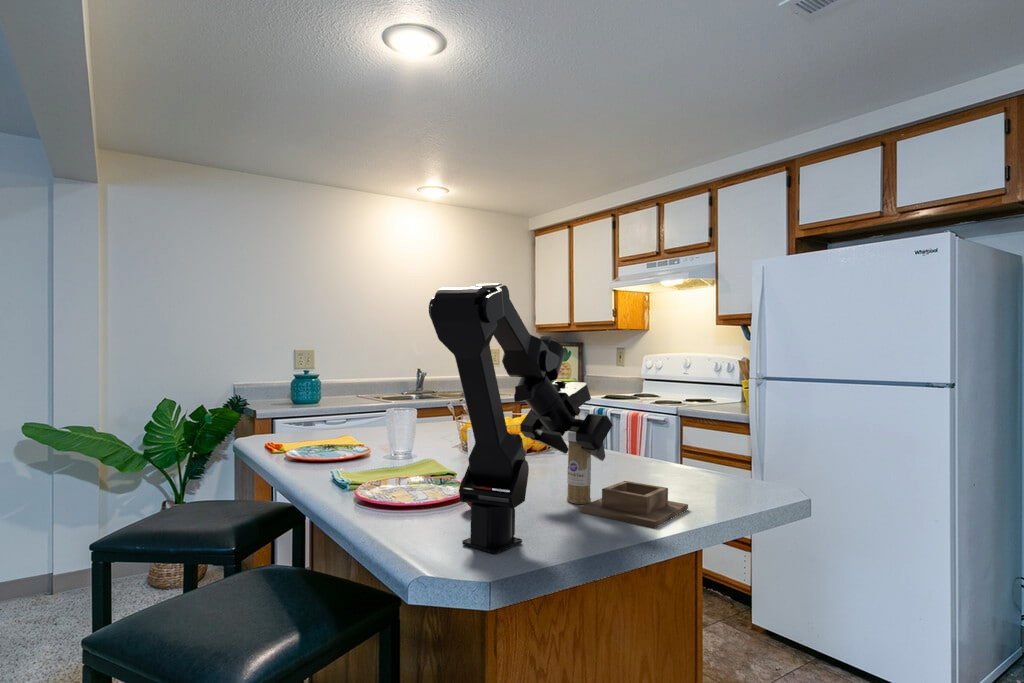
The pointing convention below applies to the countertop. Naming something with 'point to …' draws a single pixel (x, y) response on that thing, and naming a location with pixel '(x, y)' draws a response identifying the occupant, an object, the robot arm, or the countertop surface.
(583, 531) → the countertop surface
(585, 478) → the sprinkles bottle
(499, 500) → the robot arm
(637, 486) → the walnut collar holder
